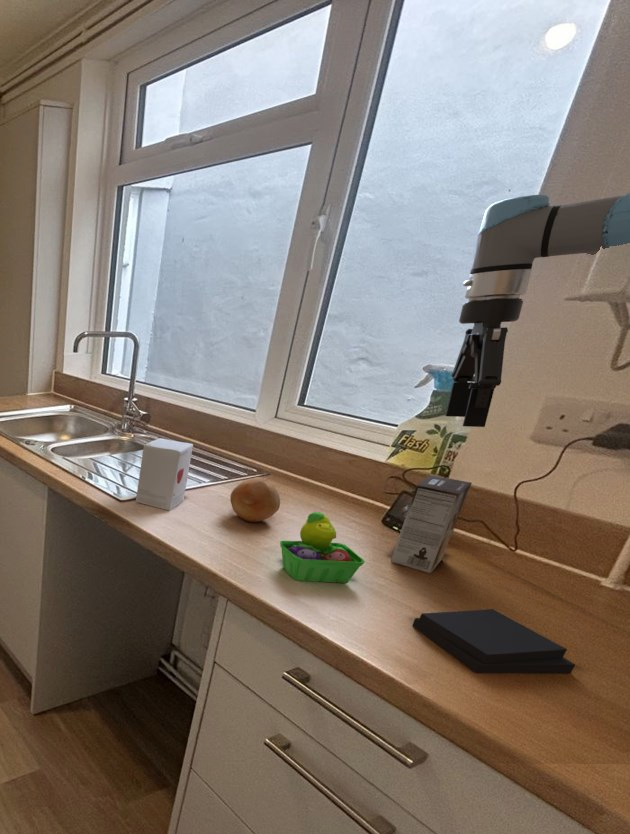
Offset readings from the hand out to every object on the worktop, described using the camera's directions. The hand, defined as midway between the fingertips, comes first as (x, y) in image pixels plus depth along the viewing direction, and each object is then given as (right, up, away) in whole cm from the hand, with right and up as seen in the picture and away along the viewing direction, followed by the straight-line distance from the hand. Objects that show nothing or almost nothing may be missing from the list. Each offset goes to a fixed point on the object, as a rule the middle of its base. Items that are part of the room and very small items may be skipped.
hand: (463, 421), depth 97 cm
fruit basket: (-28, -29, +1) cm, 40 cm away
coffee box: (-5, -27, +5) cm, 27 cm away
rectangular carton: (-43, -15, +34) cm, 57 cm away
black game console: (-16, -37, -20) cm, 45 cm away
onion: (-26, -19, +24) cm, 40 cm away
